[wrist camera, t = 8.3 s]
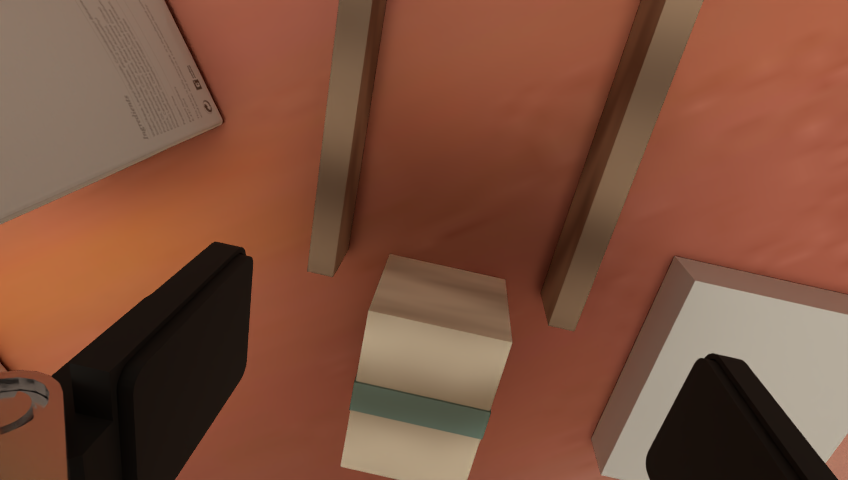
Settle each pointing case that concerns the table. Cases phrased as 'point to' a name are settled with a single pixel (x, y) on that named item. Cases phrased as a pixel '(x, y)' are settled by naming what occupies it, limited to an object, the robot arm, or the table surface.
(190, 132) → the skincare box
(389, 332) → the parcel
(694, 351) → the plate
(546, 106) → the table surface
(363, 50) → the shelf bay
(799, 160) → the table surface
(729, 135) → the table surface
